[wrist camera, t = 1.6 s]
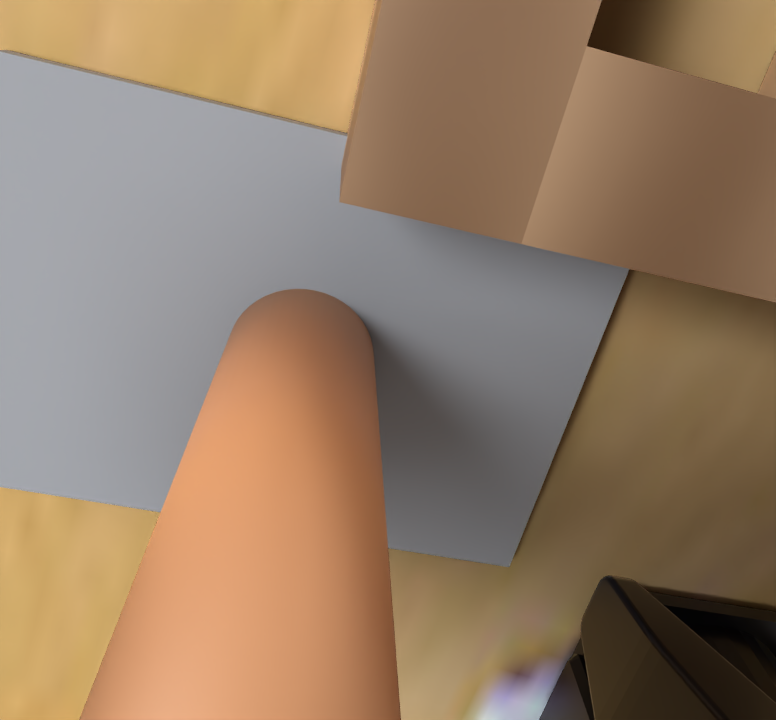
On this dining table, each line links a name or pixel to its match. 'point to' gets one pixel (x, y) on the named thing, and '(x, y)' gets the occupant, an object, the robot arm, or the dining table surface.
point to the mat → (247, 285)
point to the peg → (268, 540)
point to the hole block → (562, 142)
